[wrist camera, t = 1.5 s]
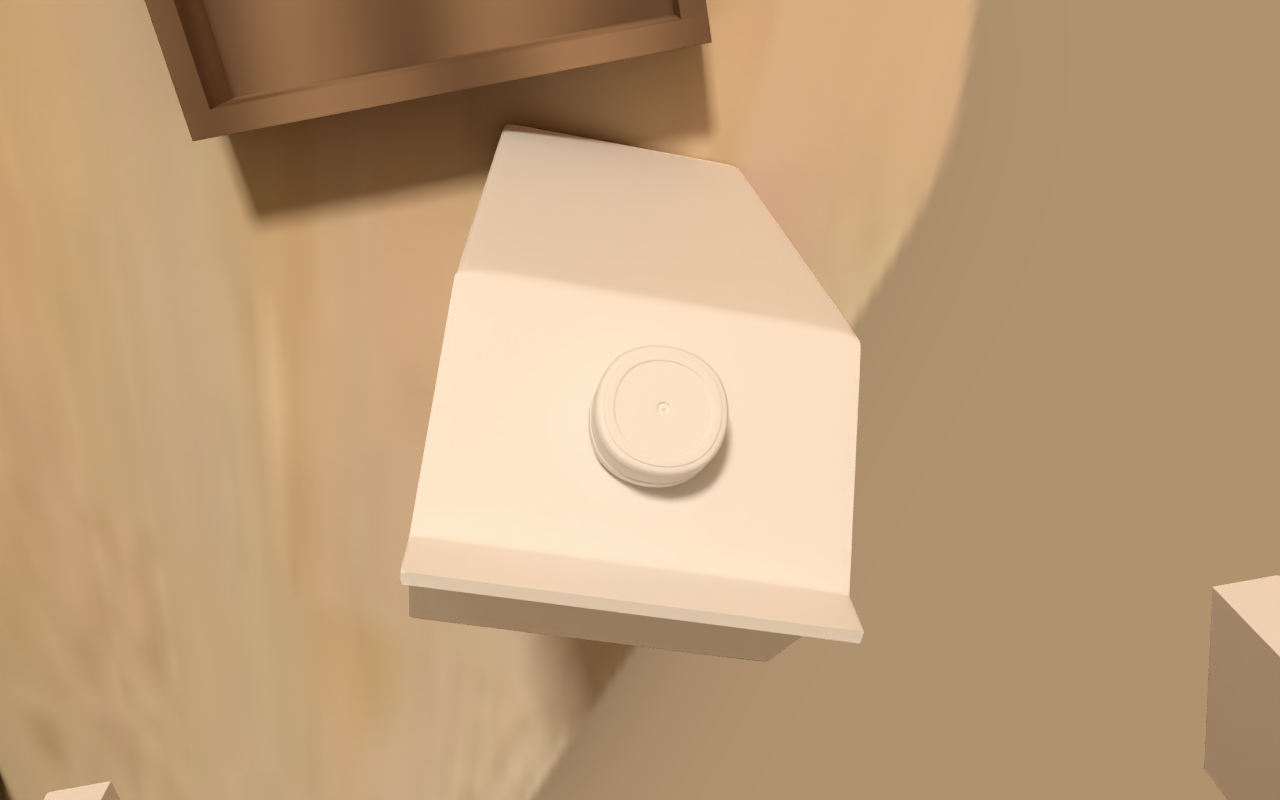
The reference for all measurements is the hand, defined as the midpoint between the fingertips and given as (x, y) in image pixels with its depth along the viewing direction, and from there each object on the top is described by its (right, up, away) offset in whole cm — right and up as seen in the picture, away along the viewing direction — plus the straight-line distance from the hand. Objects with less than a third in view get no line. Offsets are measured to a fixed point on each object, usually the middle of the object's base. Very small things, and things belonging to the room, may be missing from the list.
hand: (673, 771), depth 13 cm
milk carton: (-2, +9, +21) cm, 23 cm away
